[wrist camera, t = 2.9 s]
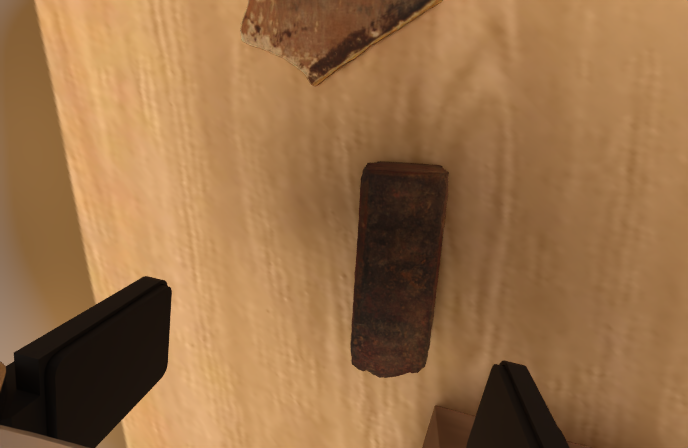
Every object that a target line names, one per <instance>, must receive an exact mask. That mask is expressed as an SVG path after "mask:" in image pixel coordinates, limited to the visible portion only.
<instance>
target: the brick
mask: <svg viewBox="0 0 688 448" xmlns="http://www.w3.org/2000/svg"><path fill="white" fill-rule="evenodd" d="M448 173H449V172H447V171H446V170H444V169H443V168H442V166H438V165H426V164H412V163H397V162H377V163H367V165H366V167H365V168H364V169H363V174H362V177H361V187H360V205H359V224H358V239H357V256H356V267H355V285H354V302H353V317H352V333H351V356H352V365H354V366H355V367H356V368H358V369H359V370H362V371H366V370H367V371H369V372H371V373H372V374H373V375H376V376H378V377H384V378H387V377H395V376H399V375H403V374H406V373H409V372H411V373H416V372H417V373H418V372H419V371H420V370H421V369H422V368H423V367H425V364H426V361H427V357H428V350H429V345H430V336H431V328H432V322H433V316H434V306H435V298H436V290H437V283H438V273H439V267H440V256H441V247H442V238H443V228H444V224H445V214H446V204H447V198H448Z"/></svg>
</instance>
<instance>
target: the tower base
mask: <svg viewBox="0 0 688 448" xmlns="http://www.w3.org/2000/svg"><path fill="white" fill-rule="evenodd" d="M475 417H476V416H472V415H468V414H465V413H461V412H457V411H454V410H450V409H446V408H443V407H439V406H435V407H434V411H433V414H432V417H431V421H430V424H429V427H428V431H427V434H426V437H425V441H424V444H423V447H422V448H466V446H467V441H468V438H469V435H470V432H471V429H472V426H473V423H474V420H475ZM567 443H568V445H569V447H570V448H590V447H587V446H583V445H579V444H576V443H572V442H568V441H567Z"/></svg>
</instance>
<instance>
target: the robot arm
mask: <svg viewBox="0 0 688 448" xmlns="http://www.w3.org/2000/svg"><path fill="white" fill-rule="evenodd" d="M171 295H172V290H171V288H170V287H168V286H167V282H166V281H165V280H160V279H156V278H152V277H147V276H145V277H142V278H141V279H139V280H137V281H136V282H134V283H132V284H130V285H129V286H127V287H125V288H124V289H122V290H120V291H118V292H117V293H115V294H113V295H112V296H110V297H108V298H106V299H105V300H103V301H101V302H100V303H98V304H96V305H95V306H93V307H91V308H89V309H88V310H86V311H84V312H83V313H81V314H79V315H77V316H76V317H74V318H72V319H71V320H69V321H67V322H65V323H64V324H62V325H60V326H59V327H57V328H55V329H54V330H52V331H50V332H48V333H47V334H45V335H43V336H42V337H40V338H38V339H36V340H35V341H33V342H31V343H30V344H28V345H26V346H24V347H23V348H21V349H20V350H18V351H16V352H14V362H12V363H11V364H9V365H7V366H5V365H4V364H3V363H2V362H0V448H95V447H96V446H97V445H98V444H99V443H100V442H101V441H102V440H103V439H104V438H105V437H106V436H107V435H108V434H109V433H110V432H111V431H112V430H113V428H114V427H115V426H116V425H117V424H118V423H119V422H120V421H121V420H122V419H123V418H124V417H125V416H126V415H127V414H128V413H129V412H130V411H131V410H132V408H133V407H134V406H135V405H136V404H137V403H138V402H139V401H140V400H141V399H142V398H143V397H144V396H145V395H146V394H147V393H148V392H149V391H150V390H151V389H152V387H153V386H154V385H155V384H156V383H157V382H158V381H159V380H160V379H161V378H162V377H163V375H164V373H165V371H166V369H167V364H168V348H169V330H170V312H171ZM466 448H570V447H569V445H568V443H567V441H566V439H565V437H564V435H563V434H562V432H561V430H560V429H559V428H558V427H557V425H556V423H555V421H554V419H553V417H552V415H551V413H550V411H549V409H548V407H547V405H546V404H545V402H544V400H543V398H542V396H541V394H540V392H539V390H538V388H537V386H536V384H535V382H534V380H533V378H532V377H531V375H530V373H529V371H528V369H527V367H526V366H524V365H520V364H516V363H512V362H508V361H502V362H501V363H500V364H499V365H497V364H494V365H493V366H492V369H491V372H490V375H489V378H488V381H487V384H486V387H485V390H484V393H483V396H482V399H481V402H480V405H479V408H478V411H477V414H476V417H475V420H474V423H473V426H472V429H471V432H470V435H469V438H468V441H467V446H466Z"/></svg>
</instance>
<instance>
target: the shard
mask: <svg viewBox="0 0 688 448" xmlns="http://www.w3.org/2000/svg"><path fill="white" fill-rule="evenodd" d="M442 1H443V0H249V1H248V5H247V9H246V11H245V14H244V17H243V21H242V24H241V36H242V41H243V42H244V43H246V44H249V45H251V46H253V47H258V48H261V49H263V50H265V51H268V52H270V53H272V54H275V55H277V56H279V57H282V58H284V59H285V60H287V61H288V62H289V63H291V64H292V65H294V66H295V67H297V68H298V69H299V70H301V71H302V72H303V73H304V74H305V75H306V77H307V79H308V81H309V82H310V84H311V85H313V86H316V85H318V84H319V83H320V82H322V81H323V80H324V79H325V78H326V77H328V76H329V75H331V74H332V73H333V72H334V71H335V70H336V69H338V68H339V67H340V66H342V65H344V64H345V63H347V62H348V61H351V60H353V59H355V58H356V57H357V56H358V55H360V54H361V53H362V52H364V51H365V50H366V49H367V48H368V47H369V46H370V45H372V44H374V43H376V42H378V41H379V40H381V39H382V38H384V37H386V36H387V35H388V34H390V33H392V32H394V31H396V30H398V29H400V28H401V27H402V26H403V25H404V24H406V23H408V22H409V21H411V20H413V19H414V18H415V17H417V16H419V15H420V14H422V13H423V12H425V11H426V10H427V9H429V8H432V7H433V6H435V5H437V4H439V3H441V2H442Z"/></svg>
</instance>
